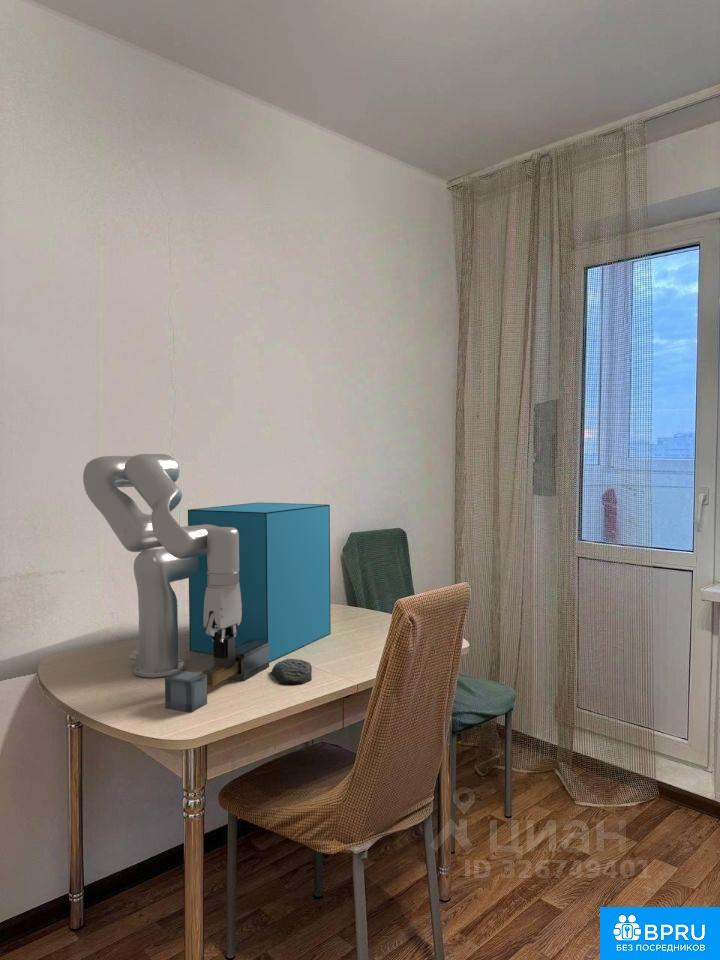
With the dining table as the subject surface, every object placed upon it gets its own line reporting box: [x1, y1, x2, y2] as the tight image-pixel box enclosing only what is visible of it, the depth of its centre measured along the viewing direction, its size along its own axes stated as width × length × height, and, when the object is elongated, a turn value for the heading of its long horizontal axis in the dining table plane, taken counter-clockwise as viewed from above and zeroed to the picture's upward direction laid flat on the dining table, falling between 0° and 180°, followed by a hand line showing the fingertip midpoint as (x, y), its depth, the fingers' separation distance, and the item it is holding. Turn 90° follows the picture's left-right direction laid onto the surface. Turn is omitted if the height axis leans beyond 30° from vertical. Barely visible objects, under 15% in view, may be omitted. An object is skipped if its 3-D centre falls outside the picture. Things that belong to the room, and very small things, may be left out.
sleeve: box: [226, 640, 270, 682], centre depth 170 cm, size 6×12×6 cm, turn 157°
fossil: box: [271, 658, 313, 686], centre depth 166 cm, size 10×13×4 cm
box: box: [187, 502, 332, 664], centre depth 197 cm, size 27×33×40 cm
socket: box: [164, 670, 208, 713], centre depth 147 cm, size 7×6×6 cm
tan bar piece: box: [201, 635, 241, 687], centre depth 164 cm, size 4×22×9 cm, turn 157°
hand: (224, 654), depth 160 cm, fingers closed on tan bar piece, 3 cm apart
